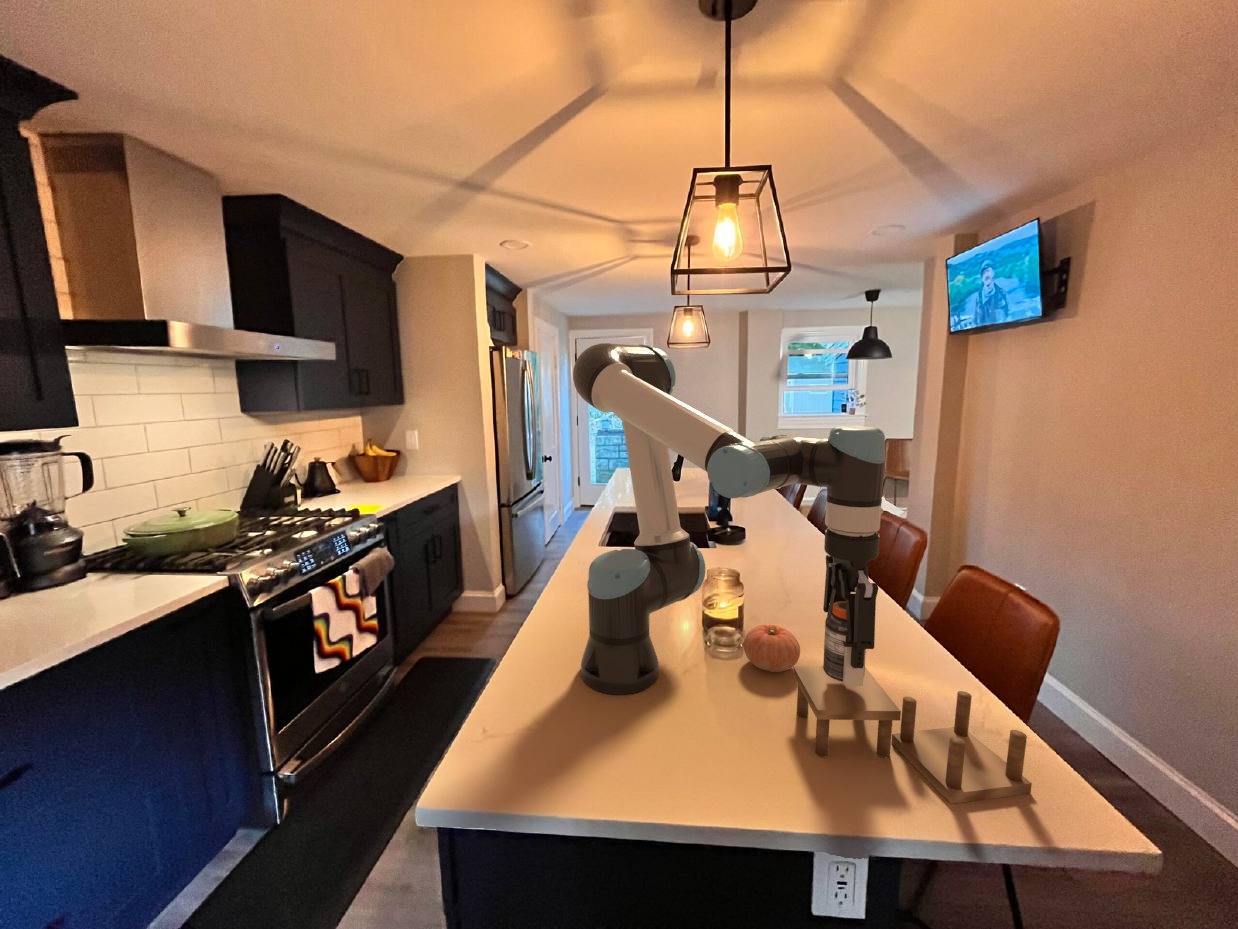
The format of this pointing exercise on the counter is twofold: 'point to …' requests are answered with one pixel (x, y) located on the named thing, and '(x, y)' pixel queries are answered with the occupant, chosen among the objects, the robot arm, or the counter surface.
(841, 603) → the pill bottle
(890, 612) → the counter surface
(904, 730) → the upturned stool
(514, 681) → the counter surface
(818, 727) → the stool
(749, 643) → the mini pumpkin
